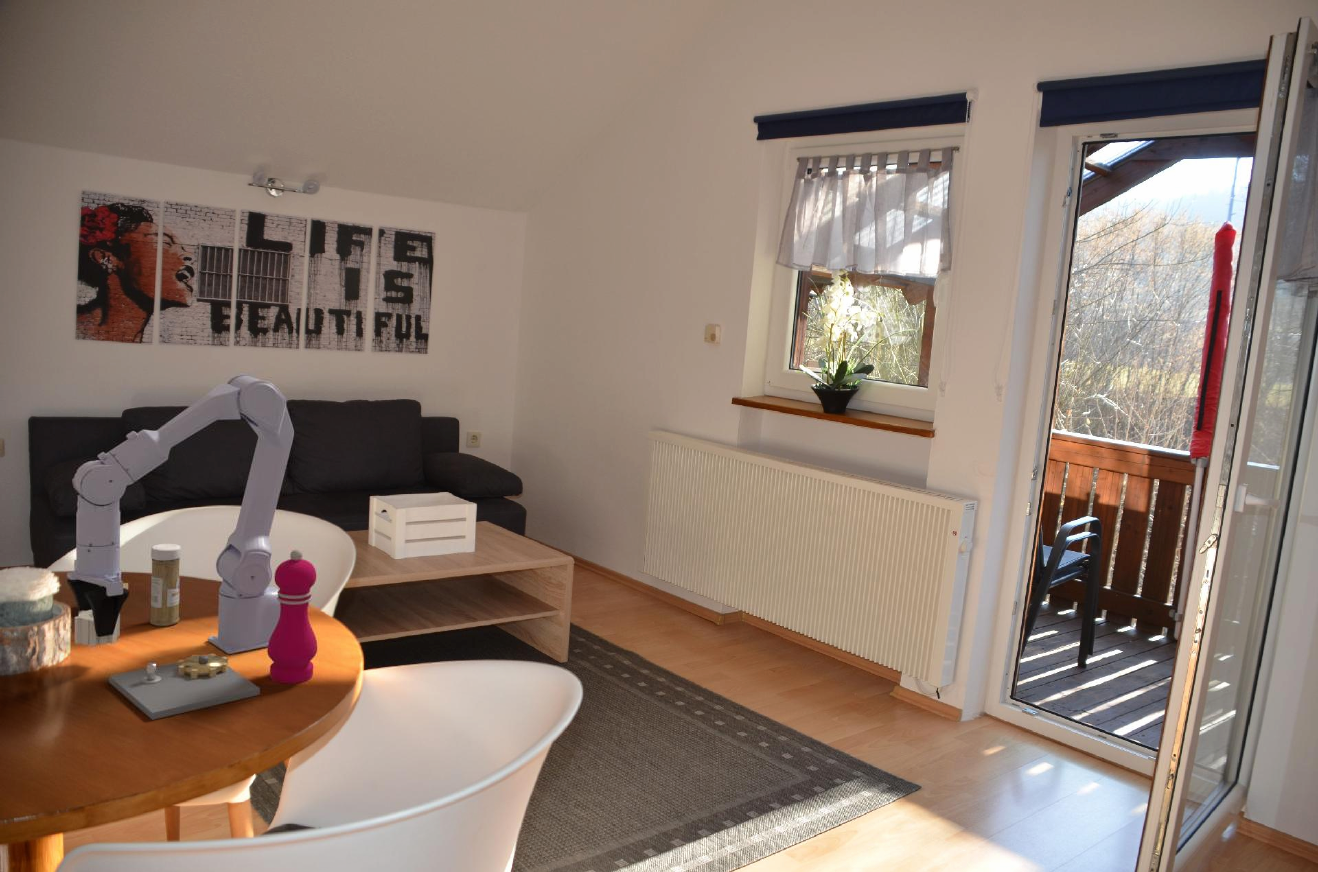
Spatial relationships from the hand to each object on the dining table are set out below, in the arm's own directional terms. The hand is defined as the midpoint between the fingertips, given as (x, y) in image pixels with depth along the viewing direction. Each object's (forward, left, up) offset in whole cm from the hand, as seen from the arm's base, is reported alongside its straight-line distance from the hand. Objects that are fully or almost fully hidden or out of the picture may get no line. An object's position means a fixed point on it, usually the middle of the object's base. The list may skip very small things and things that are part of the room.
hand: (97, 629), depth 153 cm
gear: (0, 0, -2) cm, 2 cm away
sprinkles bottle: (-15, -13, -6) cm, 21 cm away
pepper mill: (-21, +20, -6) cm, 29 cm away
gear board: (-6, +16, -5) cm, 18 cm away
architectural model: (-11, -26, -6) cm, 29 cm away
